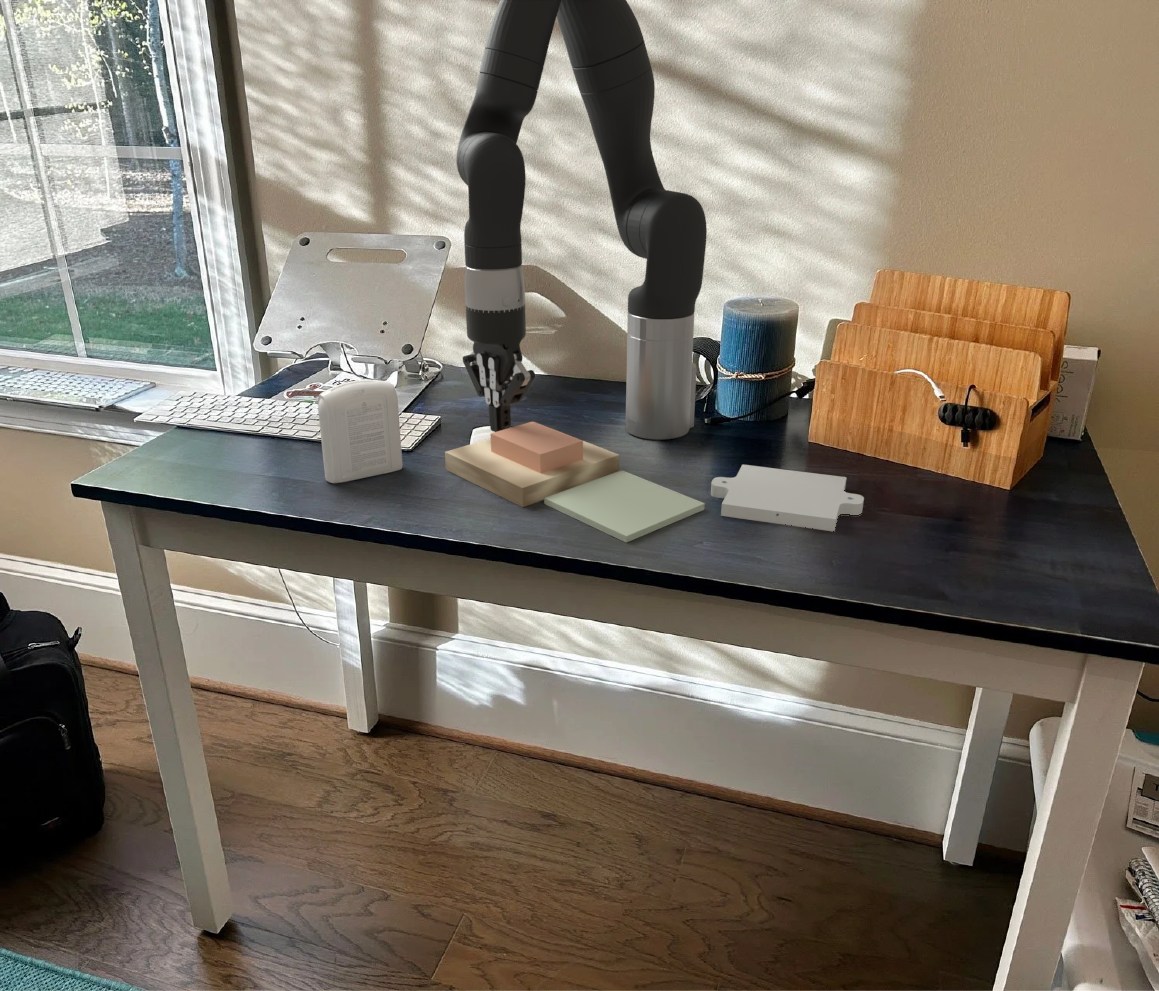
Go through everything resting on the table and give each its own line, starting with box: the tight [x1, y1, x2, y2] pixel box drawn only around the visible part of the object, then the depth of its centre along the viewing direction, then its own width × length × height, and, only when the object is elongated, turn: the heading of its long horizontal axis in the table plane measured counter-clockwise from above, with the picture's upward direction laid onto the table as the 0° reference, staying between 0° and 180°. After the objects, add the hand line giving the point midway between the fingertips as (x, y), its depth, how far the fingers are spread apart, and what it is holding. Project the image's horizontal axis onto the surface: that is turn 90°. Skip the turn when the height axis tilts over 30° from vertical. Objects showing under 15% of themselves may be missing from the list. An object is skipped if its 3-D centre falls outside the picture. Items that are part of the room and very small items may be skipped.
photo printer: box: [317, 379, 403, 484], centre depth 121 cm, size 10×4×12 cm, turn 123°
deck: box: [444, 424, 620, 508], centre depth 124 cm, size 16×16×2 cm
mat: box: [543, 469, 706, 543], centre depth 114 cm, size 13×14×1 cm
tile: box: [490, 421, 584, 473], centre depth 122 cm, size 7×10×2 cm
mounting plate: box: [710, 464, 865, 533], centre depth 115 cm, size 18×13×2 cm
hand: (500, 430), depth 127 cm, fingers closed
